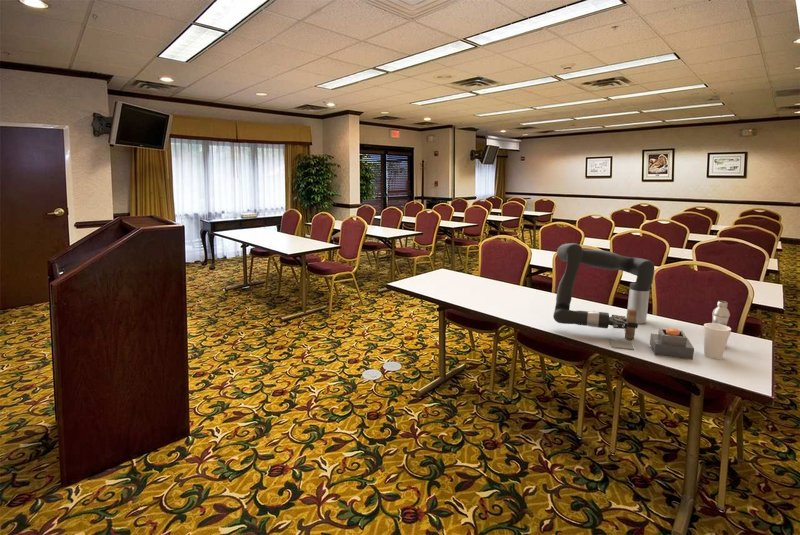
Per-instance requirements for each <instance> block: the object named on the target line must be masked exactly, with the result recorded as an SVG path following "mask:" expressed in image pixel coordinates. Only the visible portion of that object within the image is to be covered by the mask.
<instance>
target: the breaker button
mask: <svg viewBox="0 0 800 535" xmlns="http://www.w3.org/2000/svg"><path fill="white" fill-rule="evenodd" d="M665 329H666V335H673V336H679V333H680V331H681V330H679V329H678V328H674V327H672V328H670V327H668V328H667V327H666V328H665Z"/></svg>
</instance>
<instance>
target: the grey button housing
mask: <svg viewBox="0 0 800 535" xmlns="http://www.w3.org/2000/svg"><path fill="white" fill-rule="evenodd" d="M666 329H667V328H658V333H653V332H651V333H650V336H649V337H650V339H649V345H651V346H650V348H651V351H652V353H653V355H654V356H657V355H658V356H659V357H665V356H666V357H667V358H675V359H681V360H692V361H693V360H694V353H695V348H694V346H693V345H692V343H691V342H690V340H689V338H688V337H687V335H686V334H685V332H684V331H683V330H679V331H680V333H679V336H673V335H666Z"/></svg>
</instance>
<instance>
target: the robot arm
mask: <svg viewBox="0 0 800 535" xmlns="http://www.w3.org/2000/svg"><path fill="white" fill-rule="evenodd" d="M556 255H557V257H558V259H559V260H561V261H562V262H564V263H566V267H565V271H564V273H563V276H562V277H561V279H560V281H559V283H558V287H557V289H556V290H557V291H556V300H555V301H556V302H555V306H554V312H553V319H554V322H556V323H558V324H563V325H564V324H566V325H577V326H586V327H589V328H590V327H591V328H598V329H599V328H600V329H608V328H609V326H612V329H619V330H620V329H621V330H623V329H624V330H625V329H627V328H628V327H630V328H635V329H638V327H639V324H641V325H642V324H646V323H647V316H648V308H649V300H650V299H649V298H650V290H651V287H652V285H653V280H654V275H655V264H654V262H653V261H652V260H650V259H646V258H641V257H630V256H624V255H621V254H618V253H616V252H612V251H608V250H602V249H585V248H582V246H581V245H580V244H579V243H573V242H572V243H564V244H561V245H560V246H558V248H557V251H556ZM581 264H583V265H586V266H589V267H593V268H597V269H601V270H604V271H605V270H606V271H622V272H625V273H628V274H631V275H633V276H636V280H635V281H633V282H631V283H630V284H629V292H628V300H627V301H628V302H627V309H635V310H637V316H636V323H630V322H626V318H627V316H624V315H617V314H611V316H610V313H609V312H604V311H596V310H595V311H593V310H591V311H586V310H570V309H571V308H570V307H571V301H572V298H573V290H574V285H575V281H576V277H577V274H578V271H579V269H580V265H581Z"/></svg>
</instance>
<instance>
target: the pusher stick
mask: <svg viewBox="0 0 800 535" xmlns="http://www.w3.org/2000/svg"><path fill="white" fill-rule="evenodd" d="M636 316H637V310H635V309H628V308H627V310H626V322H630V323H636ZM635 332H636V328H630V327H628V328H627V329H624V340H626V341H634V340H635Z"/></svg>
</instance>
